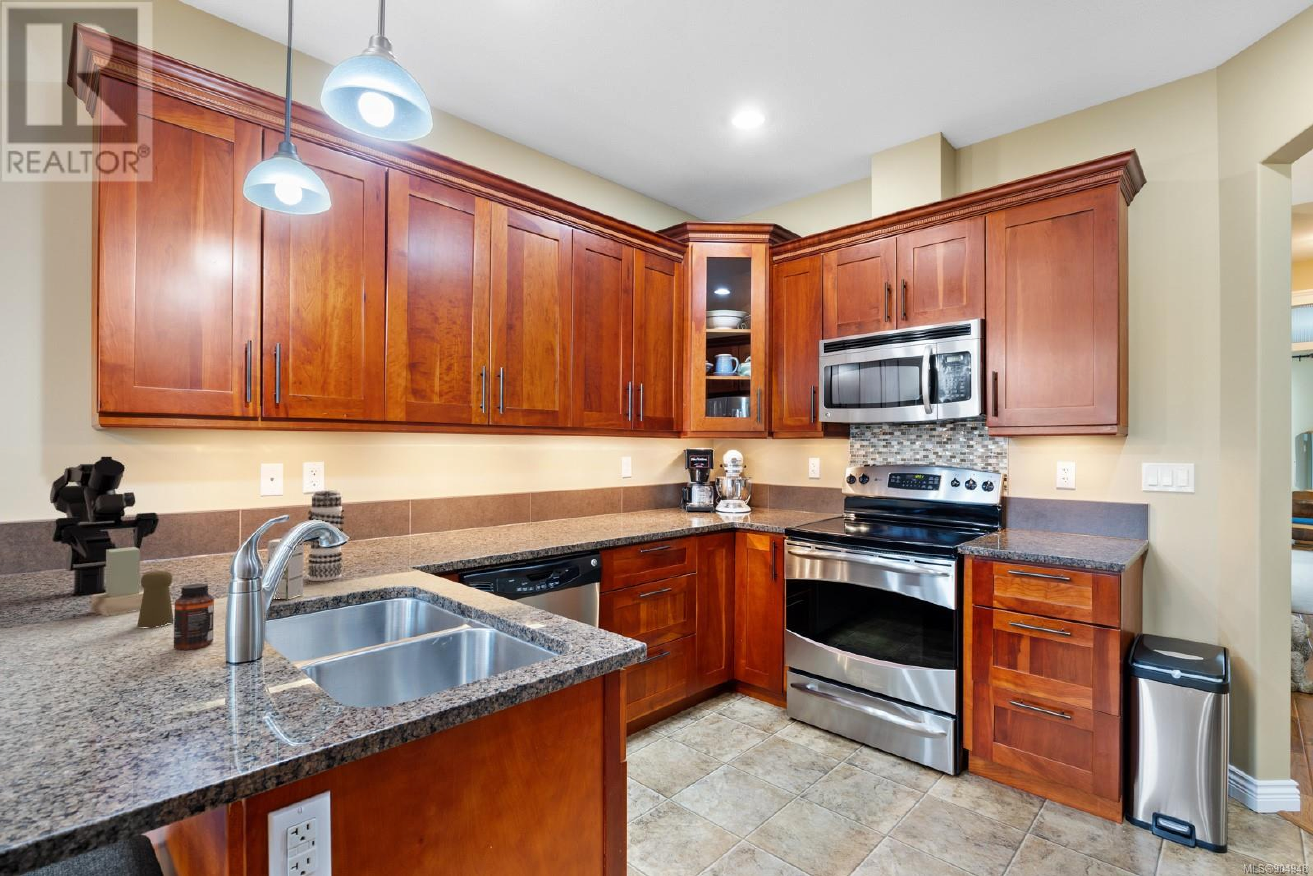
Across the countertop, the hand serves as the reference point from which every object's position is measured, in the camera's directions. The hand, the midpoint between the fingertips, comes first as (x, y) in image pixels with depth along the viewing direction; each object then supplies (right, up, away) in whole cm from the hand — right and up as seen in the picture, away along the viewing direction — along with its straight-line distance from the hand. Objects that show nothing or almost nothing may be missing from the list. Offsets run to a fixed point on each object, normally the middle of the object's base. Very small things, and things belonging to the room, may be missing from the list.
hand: (113, 553), depth 144 cm
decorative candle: (+32, -13, +32) cm, 48 cm away
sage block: (+6, -8, -4) cm, 11 cm away
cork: (+23, -12, -16) cm, 30 cm away
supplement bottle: (+41, -12, -30) cm, 52 cm away
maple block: (+6, -12, -4) cm, 14 cm away
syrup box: (+35, -13, +8) cm, 38 cm away
